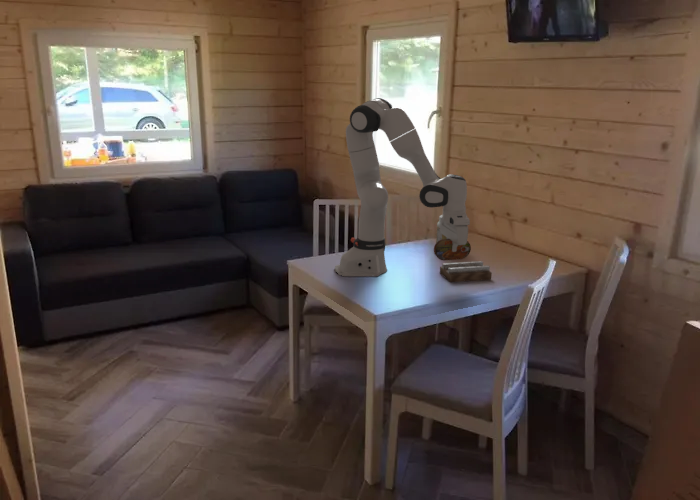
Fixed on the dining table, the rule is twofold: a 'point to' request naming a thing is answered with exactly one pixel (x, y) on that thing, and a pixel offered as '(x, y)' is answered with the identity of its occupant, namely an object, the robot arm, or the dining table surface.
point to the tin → (445, 253)
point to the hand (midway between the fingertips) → (451, 250)
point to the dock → (465, 276)
